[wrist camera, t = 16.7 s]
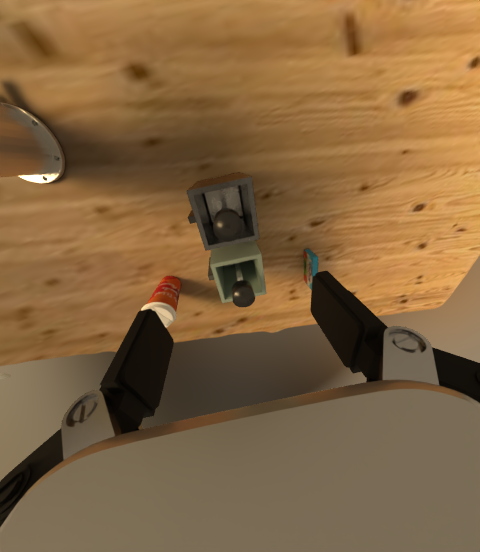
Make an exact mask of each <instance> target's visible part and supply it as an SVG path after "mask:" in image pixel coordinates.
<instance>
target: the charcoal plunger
mask: <svg viewBox="0 0 480 552" xmlns="http://www.w3.org/2000/svg"><path fill="white" fill-rule="evenodd" d="M205 197H206V201H207V204H208V208H209V212H210V216H211V219H212V222H214V226H213V229H214V233H215V235H216V236H217V237H218V238H219V239H220V240H222V241H225V242H231V241H234V240H236V239H237V238H238V237H239V236H240V235H241V233H242V229H243V226H242V222H241V219H240V217H239V216H242V215H243V214H242V208H241V202H240V196H239V190H238V186H234V187H230V188H225V189H220V190H216V191H211V192H207V193H205Z"/></svg>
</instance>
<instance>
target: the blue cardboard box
mask: <svg viewBox="0 0 480 552" xmlns="http://www.w3.org/2000/svg"><path fill="white" fill-rule="evenodd" d="M317 272H318V257H317V256H316V255H315V254H314V253H313V252H312V251H311V250H310V249H306V250H304V281H305V282H306V283H307V285H308V286H309V287H310V289H311V290H312V279H313V276H315V274H316V273H317Z"/></svg>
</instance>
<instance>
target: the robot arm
mask: <svg viewBox="0 0 480 552" xmlns="http://www.w3.org/2000/svg"><path fill="white" fill-rule="evenodd" d="M64 169H65V158H64V154H63V151H62V148H61V146H60V144H59V142H58V140H57V139H56V138H55V136H54V135H53V133H52V132H51V131H50V130H49V129H48V127H47V126H46V125H45V124H44V123H42V122H41V121H40V120H39V119H38V118H37V117H35V116H34V115H32V114H31V113H29V112H27V111H26V110H24V109H22V108H19V107H17V106H14V105H10V104H6V103H1V102H0V177H12V176H19V177H21V178H23V179H25V180H28V181H31V182H35V183H50V182H54V181H56V180H58V179H59V178H60V177H61V176H62V174H63V173H64ZM311 313H312V315H313V317H314V318H315V320H316V322H317V323H318V325H319V326H320V328H321V329H322V331H323V333H324V334H325V336H326V337H327V339H328V340H329V342H330V343H331V345H332V347H333V348H334V350H335V351H336V353H337V354H338V356H339V358H340V359H341V361H342V362H343V364H344V365H345V366H346V367H349V368H350V370H351V371H352V372H353V373H357V372H362V373H363V374H364V376H365V377H367V381H366V383H360V384H355V385H350V386H344V387H339V388H333V389H328V390H323V391H319V392H314V393H309V394H304V395H299V396H294V397H290V398H285V399H280V400H275V401H270V402H266V403H261V404H256V405H251V406H247V407H242V408H237V409H233V410H229V411H223V412H218V413H214V414H209V415H205V416H200V417H196V418H191V419H186V420H182V421H177V422H173V423H168V424H163V425H159V426H154V427H150V428H146V429H143V427H142V425H141V422H142V419H143V418H145V417H150V416H154V413H155V409H156V408H157V407H158V406H159V402H160V398H161V394H162V390H163V386H164V381H165V378H166V374H167V369H168V365H169V361H170V357H171V353H172V349H173V344H174V342H173V338H172V337H171V335H170V334H169V332H168V330H167V329H166V327H165V326H164V324H163V322H162V321H161V319H160V318H159V316H158V314H157V313H156V311H154V310H152V309H146V310H141V311H139V312H138V314H137V316H136V318H135V319H134V321H133V323H132V325H131V327H130V329H129V331H128V333H127V335H126V336H125V338H124V340H123V342H122V344H121V346H120V348H119V350H118V351H117V353H116V355H115V357H114V359H113V361H112V363H111V365H110V367H109V368H108V371H107V372H106V374H105V376H104V378H103V380H102V382H101V388H100V390H92V391H90V392H87V393H85V394H84V395H82V396H81V397H80V398H78V399H77V400H76V401H75V402H74V403H73V404H72V405H71V406H70V408H69V409H68V411H67V412H66V414H65V415H64V418H63V420H62V425H61V429H60V430H58V431H57V432H56V433H55V434H54V435H53V436H51V437H50V438H49V439H48V440H47V441H46V442H44V443H43V444H42V445H41V446H40V447H39V448H37V449H36V450H35V451H34V452H33V453H32V454H30V455H29V456H28V457H27V458H26V459H25V460H24V461H22V462H21V463H20V464H19V465H18V466H16V467H15V468H14V469H13V470H12V471H11V472H9V473H8V474H7V475H6V476H5V477H4V478H3V479H2V480H1V482H0V552H480V363H477V362H475V361H472V360H468V359H466V358H463V357H460V356H456V355H453V354H451V353H448V352H444V351H441V350H439V349H435V348H432V347H431V344H430V342H429V341H428V340H427V339H426V338H425V337H424V336H423V335H421V334H420V333H418V332H416V331H414V330H412V329H409V328H406V327H401V326H392V327H389V328H388V327H387V326H386V325H385V324H384V323H382V322H381V321H380V320H379V319H378V318H377V317H376V316H375V315H374V314H373V313H372V312H371V311H370V310H369V309H368V308H367V307H366V306H365V305H364V304H363V303H362V302H361V301H360V300H358V299H357V298H356V297H355V296H354V295H353V294H352V293H351V292H350V291H348V290H347V289H346V288H345V287H343V286H342V285H341V284H340V283H339V282H338V281H337V280H336V279H335V278H334V277H333V276H332V275H331V274H330V273H329V272H328V271H323V272H318V273H316V274H315V276H313V279H312V295H311Z"/></svg>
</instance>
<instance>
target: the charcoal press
mask: <svg viewBox="0 0 480 552" xmlns="http://www.w3.org/2000/svg"><path fill="white" fill-rule="evenodd" d="M234 186H238V190H239V196H240V202H241V208H242V214H243V215H242V216H239V217H240V219H241V222H242V226H243V229H242V233H241V235H240V236H239V237H238V238H237V239H236V240H234V241H231V242H225V241H222V240H220V239H219V238H218V237H217V236H216V235H215V233H214V229H213V226H214V222H212V219H211V216H210V212H209V208H208V204H207V201H206V197H205V193H207V192H211V191H216V190H220V189H225V188H230V187H234ZM187 194H188V197H189V201H190V204H191V207H192V211H191V213H190V214H189V216H188V219H189V222H190V224H191V223H195V222H197V226H198V229H199V232H200V235H201V238H202V241H203V244H204V248H205V251H206V250H211V249H216V248H220V247H225V246H230V245H234V244H239V243H244V242H248V241H253V240H258V239H259V231H258V223H257V215H256V207H255V199H254V192H253V184H252V177H251V176H248V175H246V174H243V173H240V172H238V173H233V174H229V175H224V176H220V177H215V178H210V179H206V180H201V181H198V182H196V183H195V184H194V185H193V186H192V187H190V188H189V189H188V190H187Z"/></svg>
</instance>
